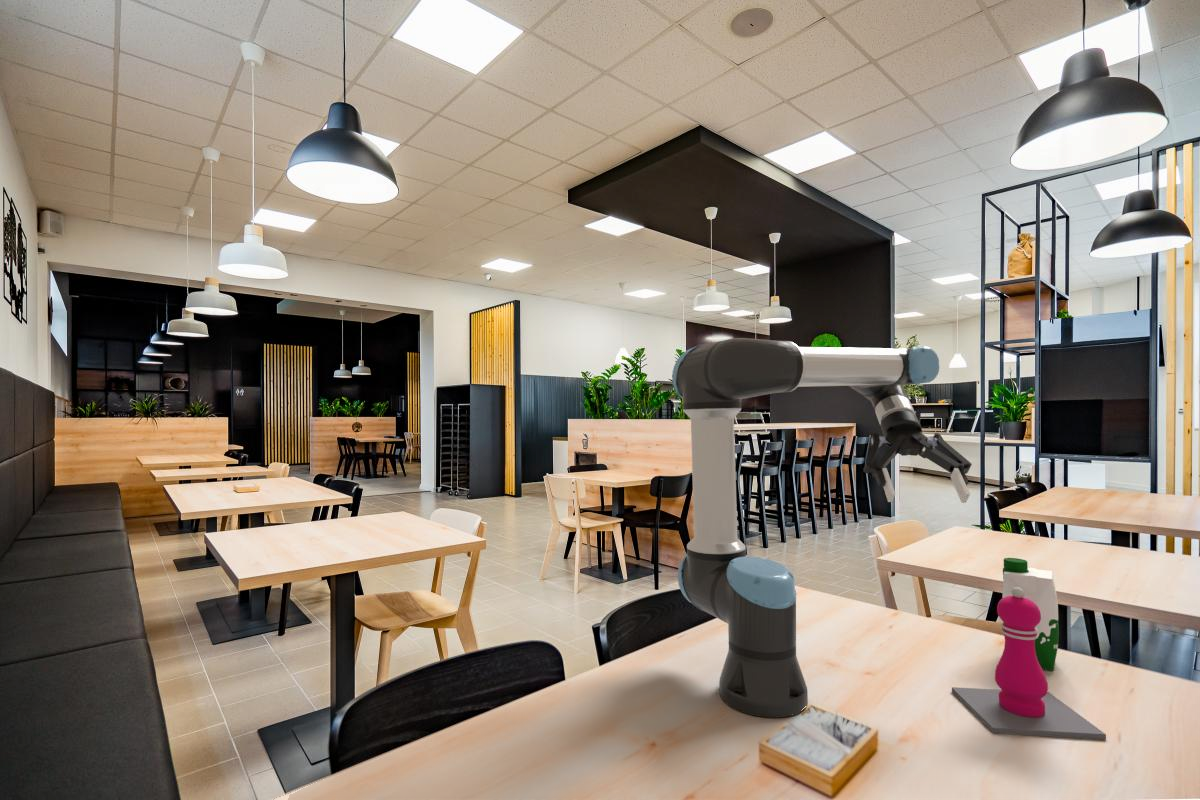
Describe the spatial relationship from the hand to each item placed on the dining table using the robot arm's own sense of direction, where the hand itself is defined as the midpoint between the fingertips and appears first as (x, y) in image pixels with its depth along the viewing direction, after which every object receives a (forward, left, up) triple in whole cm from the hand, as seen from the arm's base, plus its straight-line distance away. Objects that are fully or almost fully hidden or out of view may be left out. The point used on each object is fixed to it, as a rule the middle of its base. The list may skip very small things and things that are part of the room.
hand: (928, 498), depth 114 cm
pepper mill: (+8, -15, -33) cm, 37 cm away
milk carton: (+22, +8, -34) cm, 41 cm away
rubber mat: (+8, -15, -34) cm, 38 cm away
